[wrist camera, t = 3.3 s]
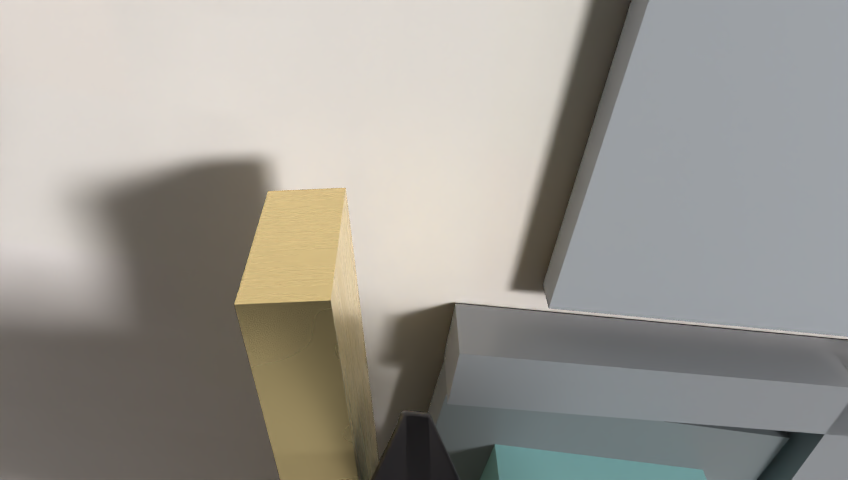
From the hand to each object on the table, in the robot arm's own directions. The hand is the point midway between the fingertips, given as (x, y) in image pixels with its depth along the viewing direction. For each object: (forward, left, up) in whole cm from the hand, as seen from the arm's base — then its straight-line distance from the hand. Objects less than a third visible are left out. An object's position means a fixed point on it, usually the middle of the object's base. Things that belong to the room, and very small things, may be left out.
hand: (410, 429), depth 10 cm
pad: (+4, -5, -3) cm, 7 cm away
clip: (-4, 0, -1) cm, 4 cm away
